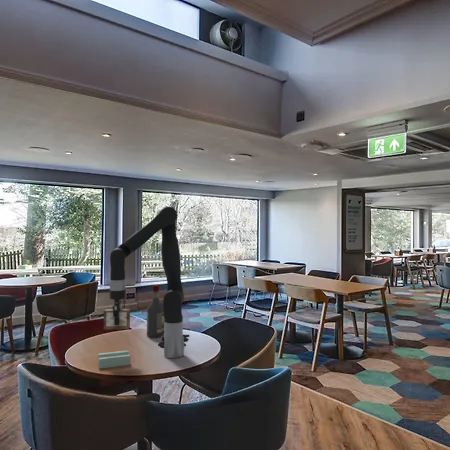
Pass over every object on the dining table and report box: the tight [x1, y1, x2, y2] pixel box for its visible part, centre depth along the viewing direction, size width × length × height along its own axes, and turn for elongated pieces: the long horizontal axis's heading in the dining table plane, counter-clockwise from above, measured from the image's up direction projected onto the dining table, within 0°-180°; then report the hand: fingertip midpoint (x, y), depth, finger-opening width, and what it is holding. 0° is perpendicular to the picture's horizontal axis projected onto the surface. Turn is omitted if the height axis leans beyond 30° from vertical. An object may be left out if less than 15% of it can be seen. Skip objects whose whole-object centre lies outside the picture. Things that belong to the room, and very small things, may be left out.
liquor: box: [146, 284, 164, 339], centre depth 228 cm, size 9×9×30 cm
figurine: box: [157, 334, 190, 349], centre depth 214 cm, size 16×1×30 cm
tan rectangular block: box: [103, 308, 131, 330], centre depth 187 cm, size 12×4×9 cm, turn 98°
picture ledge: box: [97, 350, 131, 370], centre depth 181 cm, size 14×10×4 cm
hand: (117, 323), depth 187 cm, fingers closed on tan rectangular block, 3 cm apart
